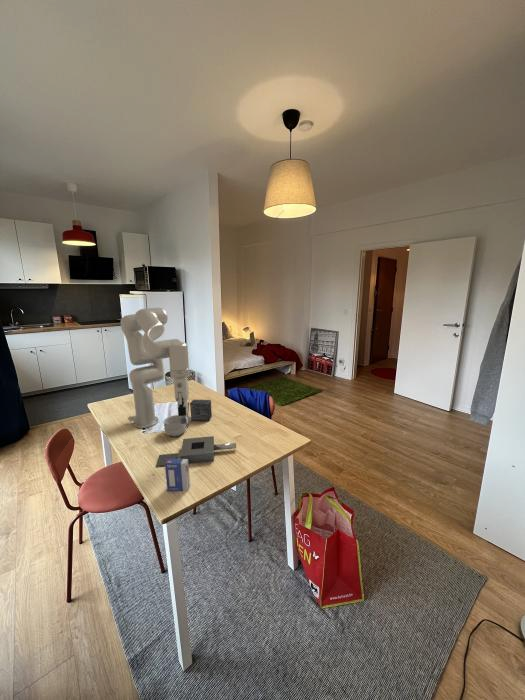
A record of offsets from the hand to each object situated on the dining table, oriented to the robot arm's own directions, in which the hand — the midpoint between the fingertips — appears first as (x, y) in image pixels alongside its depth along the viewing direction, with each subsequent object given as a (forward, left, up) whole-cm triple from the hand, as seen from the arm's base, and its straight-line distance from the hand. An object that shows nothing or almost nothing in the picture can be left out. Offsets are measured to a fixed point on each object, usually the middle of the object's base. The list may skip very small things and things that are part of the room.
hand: (182, 412), depth 123 cm
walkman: (-1, -21, -21) cm, 30 cm away
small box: (+5, +36, -21) cm, 42 cm away
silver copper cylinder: (0, 0, -4) cm, 4 cm away
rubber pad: (-8, -2, -21) cm, 22 cm away
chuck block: (+10, +1, -21) cm, 23 cm away
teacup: (-6, +22, -21) cm, 31 cm away
